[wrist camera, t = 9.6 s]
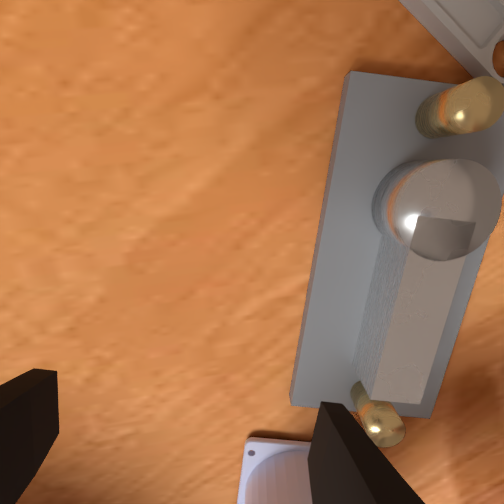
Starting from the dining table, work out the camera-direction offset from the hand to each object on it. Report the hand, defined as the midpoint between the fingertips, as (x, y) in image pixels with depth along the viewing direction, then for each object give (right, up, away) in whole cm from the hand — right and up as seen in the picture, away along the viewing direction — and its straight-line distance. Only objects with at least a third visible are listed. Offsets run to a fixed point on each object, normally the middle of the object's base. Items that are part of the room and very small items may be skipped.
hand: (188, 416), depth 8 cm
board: (+10, +4, +10) cm, 14 cm away
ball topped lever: (+10, +3, +9) cm, 13 cm away
